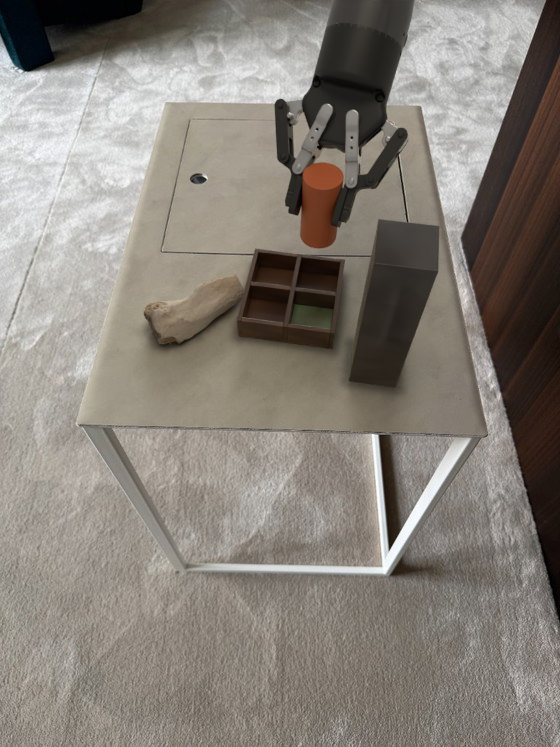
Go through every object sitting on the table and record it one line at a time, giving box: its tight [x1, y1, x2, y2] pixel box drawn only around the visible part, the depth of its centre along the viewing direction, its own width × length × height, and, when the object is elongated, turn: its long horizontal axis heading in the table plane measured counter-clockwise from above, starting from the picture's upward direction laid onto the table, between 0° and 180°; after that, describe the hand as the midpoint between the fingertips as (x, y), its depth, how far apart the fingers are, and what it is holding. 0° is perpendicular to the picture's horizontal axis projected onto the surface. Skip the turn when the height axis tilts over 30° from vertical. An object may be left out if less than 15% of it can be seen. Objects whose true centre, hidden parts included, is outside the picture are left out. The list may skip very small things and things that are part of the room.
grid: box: [236, 247, 346, 350], centre depth 75 cm, size 13×13×4 cm
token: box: [299, 162, 345, 249], centre depth 57 cm, size 4×4×8 cm
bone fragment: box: [143, 274, 244, 345], centre depth 73 cm, size 14×6×5 cm, turn 119°
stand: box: [348, 218, 440, 388], centre depth 62 cm, size 6×6×22 cm
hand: (314, 219), depth 56 cm, fingers closed on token, 4 cm apart
